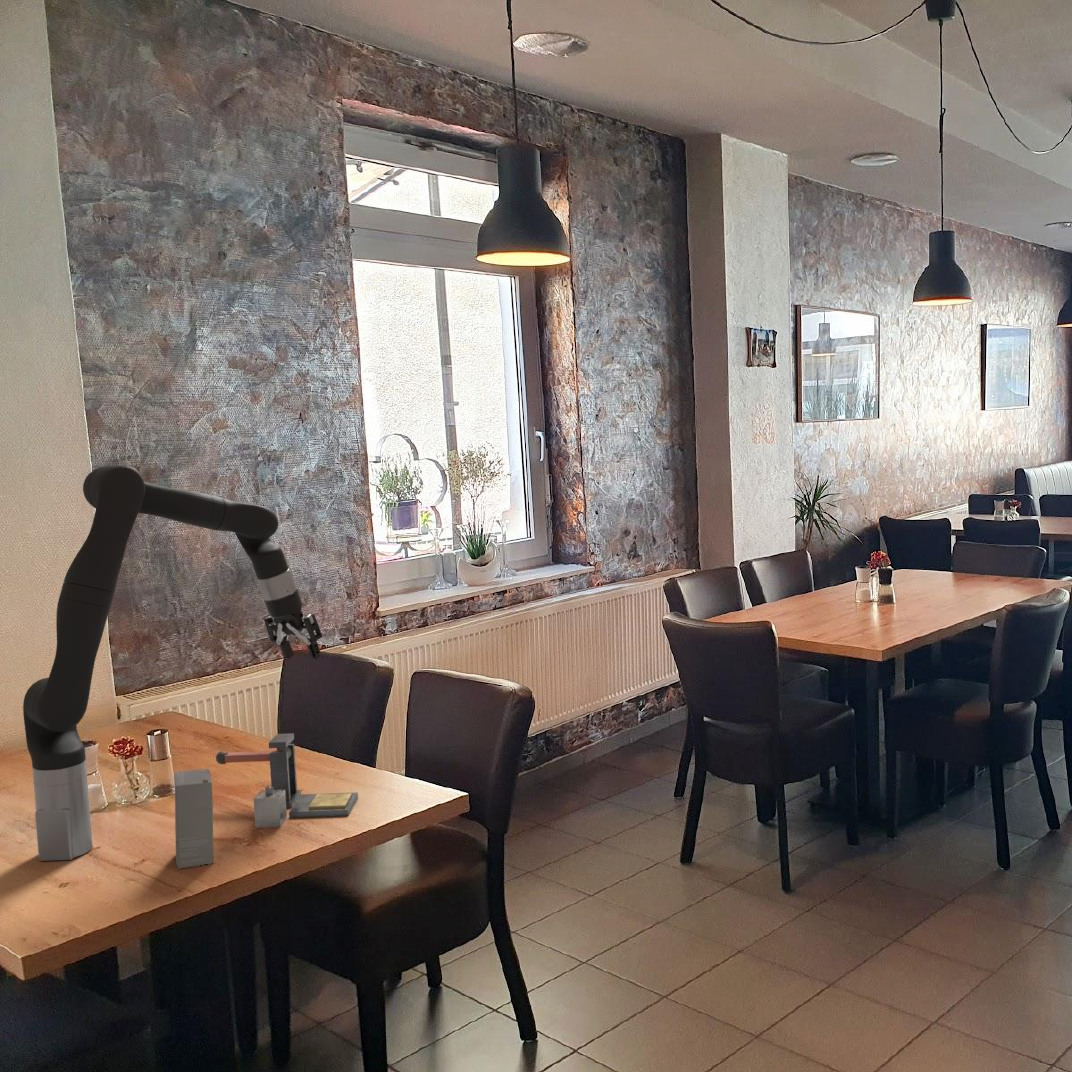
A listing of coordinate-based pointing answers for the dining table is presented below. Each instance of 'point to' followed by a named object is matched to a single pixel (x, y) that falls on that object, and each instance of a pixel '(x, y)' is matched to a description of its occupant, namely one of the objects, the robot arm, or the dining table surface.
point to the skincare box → (193, 818)
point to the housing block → (270, 808)
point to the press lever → (247, 756)
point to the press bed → (307, 803)
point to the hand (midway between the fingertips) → (303, 657)
